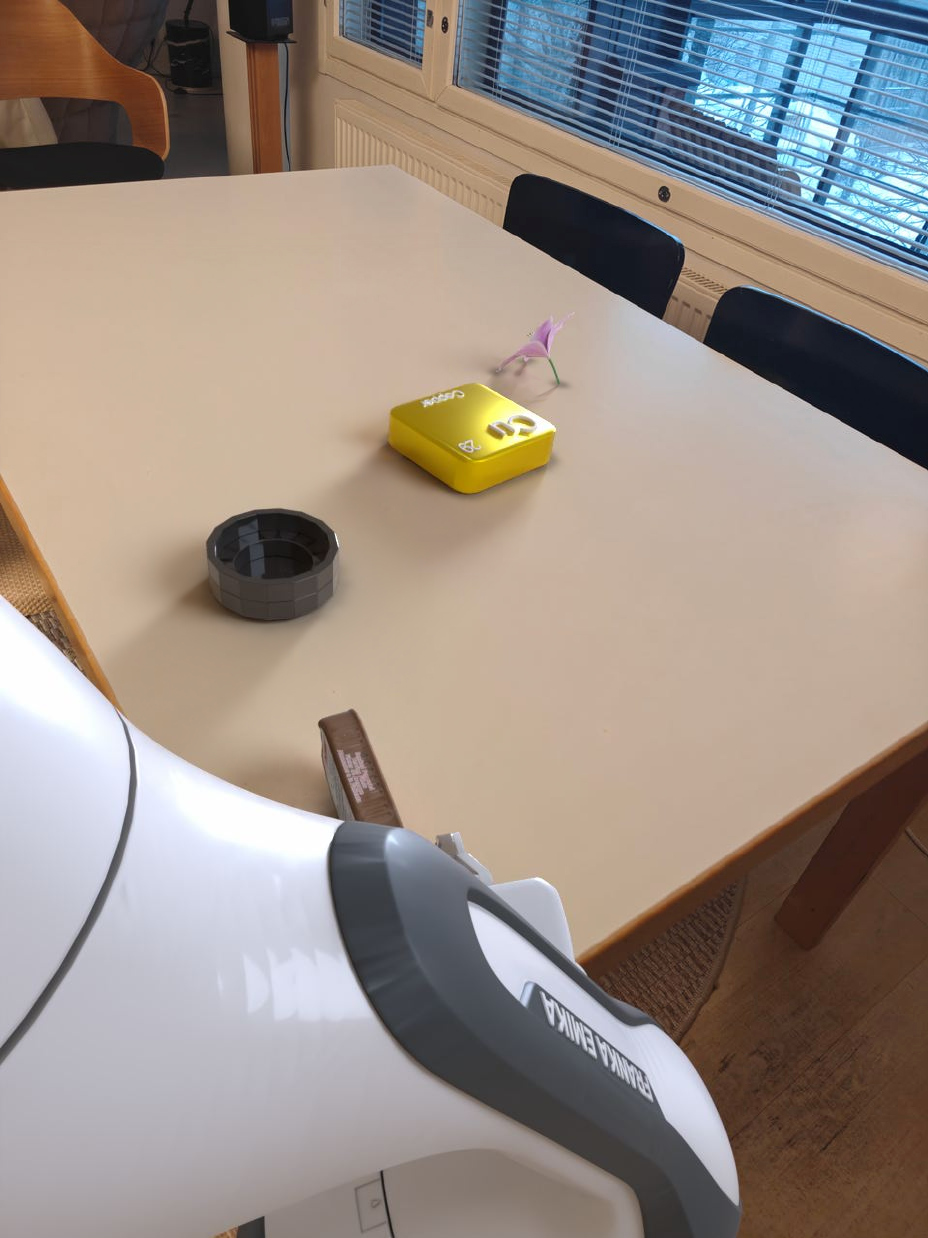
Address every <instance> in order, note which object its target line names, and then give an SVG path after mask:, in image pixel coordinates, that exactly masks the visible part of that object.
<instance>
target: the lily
mask: <svg viewBox="0 0 928 1238" xmlns="http://www.w3.org/2000/svg"><path fill="white" fill-rule="evenodd" d="M574 314H576V311H574V312H572V313H570V314H568V315H567V316H565V317H564V318H562V319H561V320H559V321H558V322H557V323H555V324H554V320H553V316H552V315H549V316H548V317H547V318H545V320H543V322H541V324H539V325H538V326H537V327H536V329H534V331H533V332H529V334H526V336H527V337H529V342H528V343H526V344H525V345H523V346H521V347H520V348H518V349H517V350H516V351H515V352H514V353H513V354H512V355H510V356H509V357H508V358H507V359H506V360H505V361H504V362H503V363H502V364H501V365H500V366H499V367H498V368H497V370H496V371H495V372H496V373H497V372H499V371H500V370H501V369H502V368H505V366H506V365H508V364H510V363H511V362H512V361H514V360H515V359H517V358H519V357H522V356H523V360H524V361H525V362H528V361H529V359H530V358H545V359H547V360H548V362H549V364H550V366H551V368H552V371H553V374H554V376H555V380H556V383H557V385H560V384H561V382H560V379H559V376H558V373H557V371H556V367H555V366H554V363H553V361H552V359H551V356H550V350H551V346H552V342H553V340H554V336H555V334H556V332H557V331H558V330H560V329H562V328H563V324H564V323H565V322H566V321H567V320H568V319H570V317H572V316H573V315H574ZM531 333H532V334H531Z"/></svg>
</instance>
